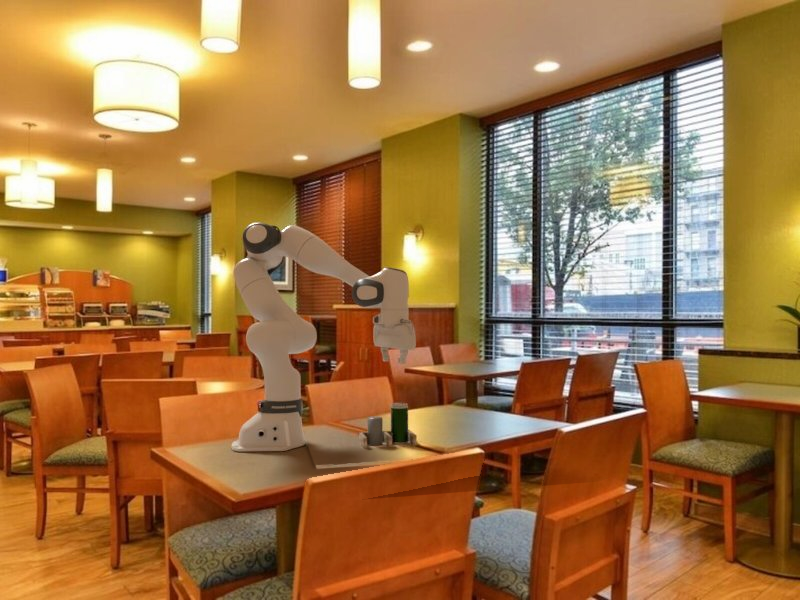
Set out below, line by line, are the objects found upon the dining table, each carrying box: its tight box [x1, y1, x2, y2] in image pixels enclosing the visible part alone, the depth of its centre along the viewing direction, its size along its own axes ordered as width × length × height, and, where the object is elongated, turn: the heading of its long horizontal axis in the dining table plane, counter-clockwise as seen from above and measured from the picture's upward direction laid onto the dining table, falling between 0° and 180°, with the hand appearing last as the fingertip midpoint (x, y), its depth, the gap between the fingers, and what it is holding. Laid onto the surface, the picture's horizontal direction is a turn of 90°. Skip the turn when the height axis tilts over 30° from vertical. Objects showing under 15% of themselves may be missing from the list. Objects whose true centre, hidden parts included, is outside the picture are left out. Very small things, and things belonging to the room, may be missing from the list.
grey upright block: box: [366, 416, 384, 446], centre depth 181 cm, size 5×5×8 cm
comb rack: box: [358, 429, 418, 449], centre depth 182 cm, size 16×9×4 cm, turn 103°
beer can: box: [390, 402, 409, 445], centre depth 183 cm, size 5×5×12 cm
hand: (393, 362), depth 188 cm, fingers open, 8 cm apart
